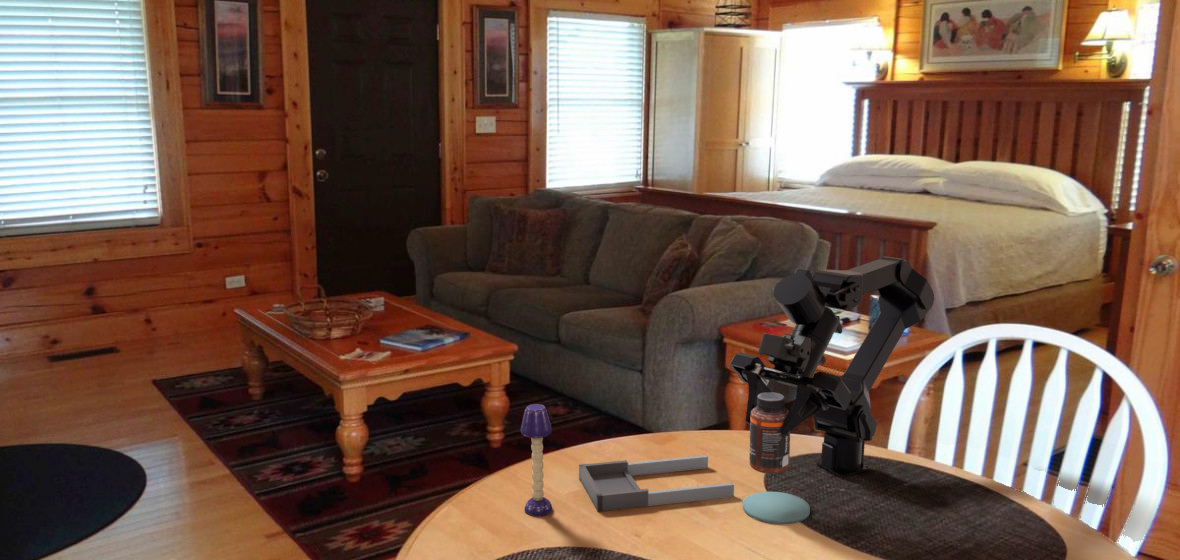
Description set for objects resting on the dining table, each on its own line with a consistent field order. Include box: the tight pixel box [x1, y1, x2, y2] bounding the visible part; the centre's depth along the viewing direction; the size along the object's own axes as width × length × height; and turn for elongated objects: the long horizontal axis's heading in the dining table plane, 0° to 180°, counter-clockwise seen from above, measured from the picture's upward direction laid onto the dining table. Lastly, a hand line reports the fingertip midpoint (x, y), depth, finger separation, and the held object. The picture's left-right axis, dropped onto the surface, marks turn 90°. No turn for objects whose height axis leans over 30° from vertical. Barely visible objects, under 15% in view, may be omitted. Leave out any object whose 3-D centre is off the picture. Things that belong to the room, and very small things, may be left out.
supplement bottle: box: [749, 391, 791, 475], centre depth 143 cm, size 6×6×11 cm
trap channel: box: [578, 454, 735, 513], centre depth 152 cm, size 22×12×2 cm, turn 103°
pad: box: [742, 491, 811, 525], centre depth 145 cm, size 10×10×1 cm
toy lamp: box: [520, 403, 553, 517], centre depth 143 cm, size 5×5×17 cm
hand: (764, 428), depth 141 cm, fingers closed on supplement bottle, 6 cm apart
